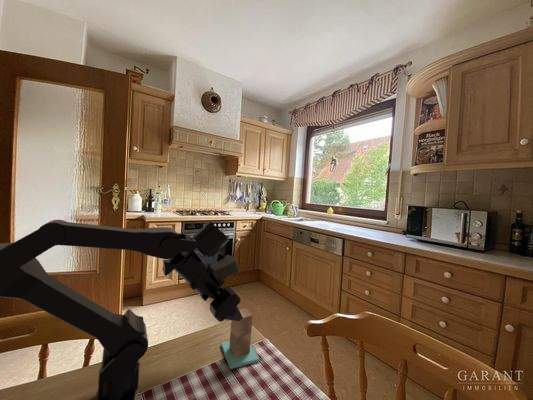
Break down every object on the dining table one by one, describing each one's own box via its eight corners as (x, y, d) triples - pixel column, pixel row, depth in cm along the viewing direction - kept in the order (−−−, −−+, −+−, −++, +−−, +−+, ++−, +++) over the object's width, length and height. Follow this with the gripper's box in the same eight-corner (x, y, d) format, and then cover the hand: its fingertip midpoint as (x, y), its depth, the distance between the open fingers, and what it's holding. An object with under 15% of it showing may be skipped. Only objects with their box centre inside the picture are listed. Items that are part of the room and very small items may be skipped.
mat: (230, 369, 56) (230, 365, 56) (221, 345, 64) (221, 342, 64) (259, 361, 59) (259, 358, 59) (247, 340, 67) (247, 337, 67)
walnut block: (235, 357, 59) (238, 318, 58) (229, 347, 62) (232, 311, 62) (249, 352, 61) (252, 315, 61) (242, 343, 64) (245, 308, 64)
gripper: (237, 257, 49) (274, 301, 55) (209, 237, 65) (240, 273, 71) (195, 299, 45) (240, 342, 51) (176, 267, 61) (212, 302, 67)
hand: (233, 309), depth 60 cm, fingers open, 9 cm apart
